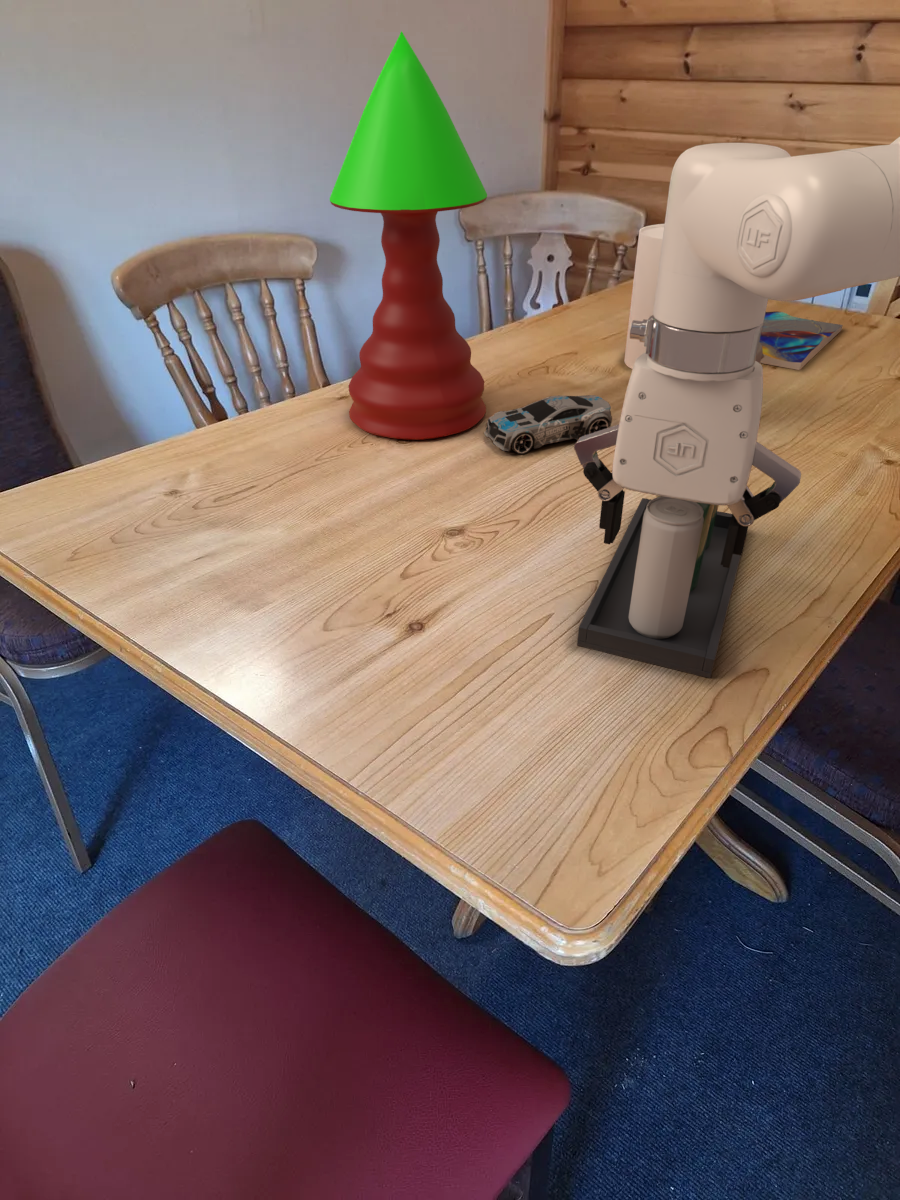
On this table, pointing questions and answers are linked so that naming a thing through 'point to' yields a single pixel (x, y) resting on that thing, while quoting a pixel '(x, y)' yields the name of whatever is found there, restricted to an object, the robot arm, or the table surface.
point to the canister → (644, 285)
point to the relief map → (793, 339)
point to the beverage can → (665, 566)
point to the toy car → (548, 422)
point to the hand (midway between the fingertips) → (668, 547)
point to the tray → (703, 614)
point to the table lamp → (411, 257)
